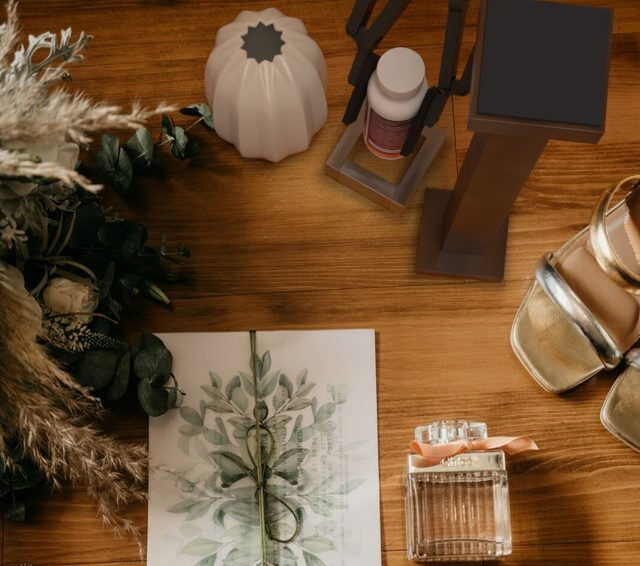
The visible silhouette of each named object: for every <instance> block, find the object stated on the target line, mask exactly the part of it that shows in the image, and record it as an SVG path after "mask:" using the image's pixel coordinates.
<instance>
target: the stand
mask: <svg viewBox="0 0 640 566" xmlns="http://www.w3.org/2000/svg"><path fill="white" fill-rule="evenodd" d="M365 106H366V97H365V99H364V102H363V105H362V107H361V110H360V112H359V115H358V117H357V120H356V122H354V123H352V124H350V125H348V126H347V127H346V129H345V130H344V132H343V133H342V135H341V137H340V138H339V140H338V141H337V143H336V145H335V146H334V148H333V150H332V151H331V153H330V155H329V157H328V158H327V160H326V161H325V162H324V166H325V168H324V175H326V176H327V177H328V178H331V179H333V180H334V181H336V182H338V183H340V184H342V185H343V186H345V187H346V188H349V189H350V190H352V191H354V192H356V193H357V194H359V195H361V196H363V197H365V198H366V199H368V200H370V201H372V202H374V203H375V204H377V205H379V206H381V207H383V209H386V210H388V211H390V212H391V213H393V214H395V215H397V216H398V217H400V218H402V217H403V216H404V214H405V212H406V210H407V208H408V207H409V205H410V203H411V202H412V200H413V199H414V197H415V195H416V193H417V192H418V190H419V188H420V187H421V185H422V183H423V182H424V180H425V178H426V177H427V175H428V173H429V172H430V170H431V168H432V166H433V165H434V163H435V162H436V160H437V159H438V156H439V155H440V153H441V152H442V150H443V149H444V146H445V145H446V142H447V138H448V135H449V132H448V131H446V130H444V129H442V128H441V127H439V126H437V125H436V124H435V125H434V126H433V127H431V128H429V127H427V126H424V128H423V130H422V133H421V135H420V137H419V139H418V142H417V144H416V146H417V147H419V148H420V149H419V150H418V152H417V154H416V156H415V157H414V159H413V160H412V162H411V164H410V166H409V168H408V169H407V171H406V173H405V174H404V176H403V177H402V180H401V181H400V182H399V184H398V186H397V185H395V184H393V183H391V182H389V181H388V180H387V179H384V178H383V177H381V176H379V175H377V174H376V173H373V172H372V171H370V170H369V169H366V168H365V167H364V166H363V167H362V166H361V165H360V164H358V163H356V162H354V161H352V160H353V158H354V156H355V154H357V151H358V149H360V146H361V145H362V143H363V141H364V137H363V126H364V116H365Z"/></svg>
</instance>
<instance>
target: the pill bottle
mask: <svg viewBox="0 0 640 566" xmlns="http://www.w3.org/2000/svg"><path fill="white" fill-rule="evenodd" d="M380 56H381V58H380V60H379V62H378V64H377V69H376V70H375V71H374V72H373V73H372V75H371V77H370V79H369V82H368V86H367V94H366V97H365V98H366V106H365V116H364V126H363V137H364V140H363V141H364V143H365V146H366V147H367V149H368V150H369V151H370V152H371V153H372V154H373V155H374V156H376V157H377V158H380V159H383V160H386V161H397V160H399V159H403V158H405V157H404V156H402V155H400V151H401V149H402V147H403V145H404V142H405V140H406V138H407V135H408V133H409V131H410V129H411V126H412V124H413V122H414V119H415V117H416V115H417V113H418V110H419V108H420V106H421V104H422V101H423V99H424V97H425V94H426V92H427V90H428V89H429V84H428V80H427V77H426V75H425V74H426V67H425V63H424V60H423V58H422V57H421V55H420V54H419V53H418V52H416V51H415V50H413V49H411V48H408V47H403V46H401V47H400V46H399V47H394V48H390V49H388V50H386V51H385V52H384V53H383V54H382V55H380Z"/></svg>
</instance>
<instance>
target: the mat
mask: <svg viewBox="0 0 640 566" xmlns="http://www.w3.org/2000/svg"><path fill="white" fill-rule="evenodd" d="M610 12H611V9H603V8H594V7H584V6H575V5H565V4H556V3H546V2H537V1H527V0H488V1H487V12H486V22H485V33H484V43H483V53H482V64H481V74H480V84H479V95H478V105H477V114H480V115H489V116H499V117H508V118H517V119H527V120H536V121H546V122H555V123H564V124H574V125H583V126H593V127H600V126H601V124H602V112H603V99H604V87H605V74H606V62H607V49H608V37H609V24H610Z"/></svg>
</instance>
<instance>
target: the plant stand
mask: <svg viewBox="0 0 640 566" xmlns="http://www.w3.org/2000/svg"><path fill="white" fill-rule="evenodd" d="M487 1H488V0H480V3H479V6H478V9H477V20H476V29H475V39H474V40H475V41H474V43H475V49H474V59H473V69H472V79H471V90H470V93H469V99H468V100H469V101H468V111H467V119H466V120H467V122H466V131H467V132H473V134H472V137H471V140H470V143H469V144H468V148H467V150H466V153H465V155H464V158H463V161H462V163H461V167H460V169H459V172H458V175H457V177H456V179H455V182H454V185H453V187H452V189H444V188H436V187H435V188H434V187H425V188H424V191H423V200H422V209H421V217H420V227H419V239H418V248H417V257H416V267H415V268H416V269H415V274H416V275H423V276H425V275H426V276H434V277H444V278H451V279H452V278H453V279H461V280H471V281H478V282H479V281H480V282H490V283H497V284H499V283H500V284H502V282H503V281H504V278H505V268H506V267H505V266H506V256H507V245H508V236H509V235H508V234H509V224H510V223H509V222H510V213H511V212H510V211H511V209H512V207H513V205H514V203H516V200H517V198H518V197H519V195H520V193H521V191H522V189H523V188H524V186H525V184H526V183H527V181H528V179H529V177H530V175H531V174H532V172H533V170H534V168H535V166H536V165H537V164H538V162H539V160H540V158H541V156H542V154H543V152H544V151H545V149H546V147H547V145H548V143H549V142H550V141H558V142H559V141H560V142H567V143H578V144H587V145H598V143H599V142H600V140H601V139H602V138H603V136H604V135H605V133H606V120H607V109H608V108H607V107H608V95H609V83H610V72H611V71H610V70H611V59H612V58H611V57H612V45H613V44H612V43H613V33H614V20H615V7H608V6H598V5H589V4H588V5H587V4H579V3H571V2H560V1H553V0H551V1H550V0H527V1H537V2H546V3H556V4H565V5H575V6H584V7H594V8H603V9H611V12H610V24H609V37H608V49H607V62H606V74H605V87H604V99H603V112H602V124H601V126H600V127H593V126H583V125H574V124H564V123H555V122H546V121H536V120H527V119H517V118H508V117H499V116H489V115H480V114H477V105H478V95H479V84H480V74H481V64H482V53H483V43H484V33H485V22H486V12H487Z"/></svg>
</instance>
